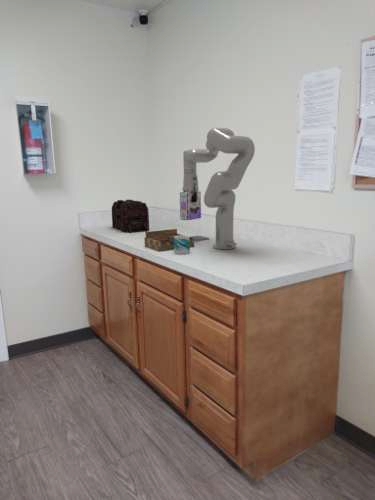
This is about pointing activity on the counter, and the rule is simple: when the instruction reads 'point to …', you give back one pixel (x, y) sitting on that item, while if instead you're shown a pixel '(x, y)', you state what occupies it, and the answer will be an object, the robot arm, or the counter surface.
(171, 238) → the offcut upper
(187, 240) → the mug
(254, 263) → the counter surface
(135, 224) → the crate
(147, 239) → the frame
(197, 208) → the candy box
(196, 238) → the board
